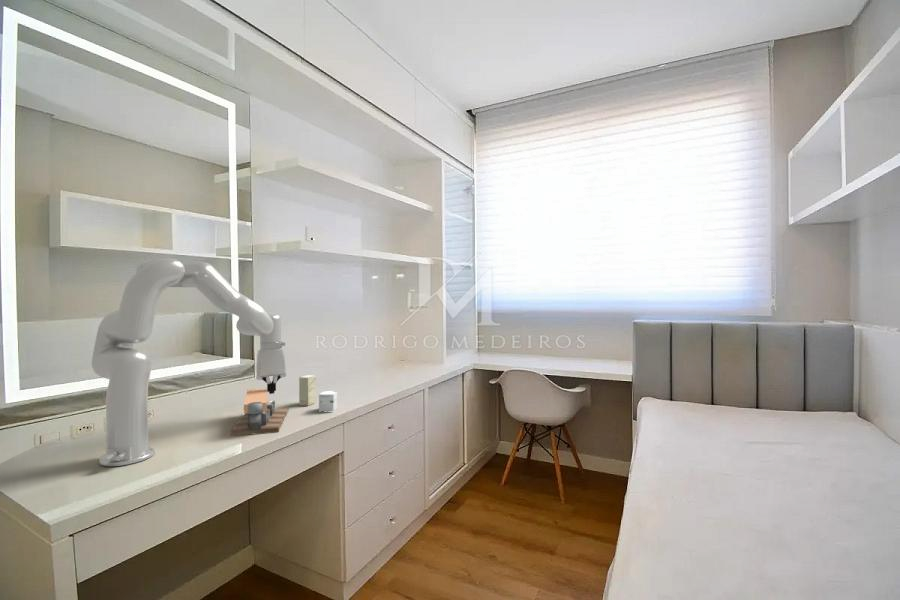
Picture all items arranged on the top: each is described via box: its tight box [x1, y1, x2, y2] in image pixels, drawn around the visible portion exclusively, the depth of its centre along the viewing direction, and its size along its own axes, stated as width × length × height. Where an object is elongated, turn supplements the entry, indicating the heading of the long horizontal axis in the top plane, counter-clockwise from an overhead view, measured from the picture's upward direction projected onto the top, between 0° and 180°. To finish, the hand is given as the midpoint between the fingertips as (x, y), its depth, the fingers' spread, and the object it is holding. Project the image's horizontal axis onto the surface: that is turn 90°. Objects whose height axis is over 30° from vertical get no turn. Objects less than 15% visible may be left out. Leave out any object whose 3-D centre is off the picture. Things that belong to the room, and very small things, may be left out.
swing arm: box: [243, 387, 268, 414], centre depth 152 cm, size 27×7×3 cm, turn 24°
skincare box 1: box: [298, 374, 316, 407], centre depth 179 cm, size 6×4×12 cm
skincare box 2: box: [318, 390, 338, 413], centre depth 169 cm, size 6×6×7 cm
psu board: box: [230, 400, 289, 436], centre depth 152 cm, size 27×15×7 cm, turn 14°
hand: (271, 393), depth 161 cm, fingers closed
